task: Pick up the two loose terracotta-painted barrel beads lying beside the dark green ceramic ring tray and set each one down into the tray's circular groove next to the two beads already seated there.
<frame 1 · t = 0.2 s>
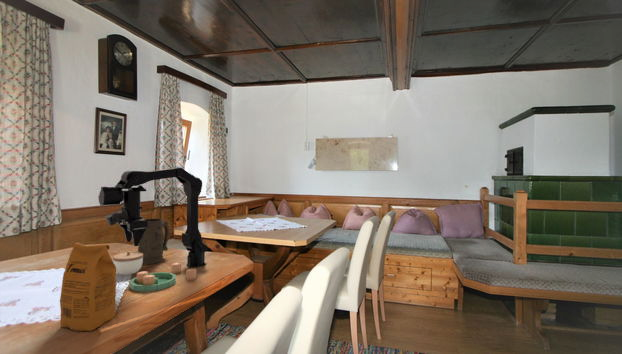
hand: (132, 244, 118), 14 cm above the table, fingers open, 9 cm apart
bead c: (148, 287, 109), point 1 cm above the table, touching ring tray
beer stein: (154, 260, 146), on the table
coffee package: (88, 323, 85), on the table
ring tray: (153, 285, 113), on the table
bead b: (191, 280, 119), on the table
bead a: (176, 273, 127), on the table
lidded jar: (128, 274, 126), on the table
bead d: (142, 283, 113), point 1 cm above the table, touching ring tray
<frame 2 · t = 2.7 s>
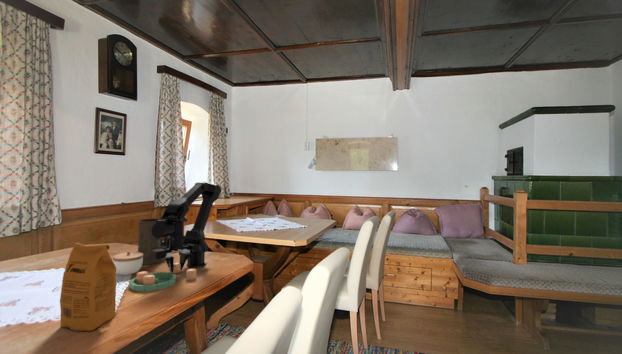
hand: (176, 271, 127), 1 cm above the table, fingers closed on bead a, 4 cm apart
bead a: (176, 273, 127), on the table, touching gripper
everything else where it was.
when the fingers open (3 cm above the table, at t = 5.7 s): bead a stays where it is, resting on ring tray.
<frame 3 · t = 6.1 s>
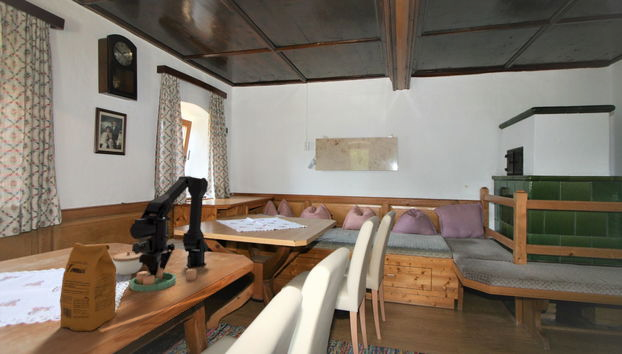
hand: (158, 274, 117), 3 cm above the table, fingers open, 8 cm apart
bead a: (158, 279, 117), point 1 cm above the table, touching ring tray
everything else where it was.
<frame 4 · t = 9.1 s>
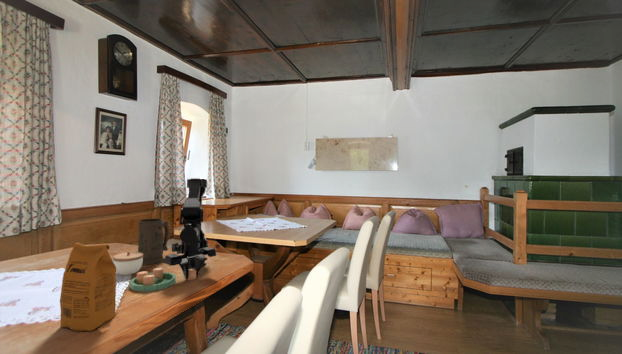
hand: (191, 277, 119), 1 cm above the table, fingers closed on bead b, 4 cm apart
bead b: (191, 280, 119), on the table, touching gripper
everything else where it was.
when the fingers open (3 cm above the table, at t = 12.1 s): bead b stays where it is, resting on ring tray.
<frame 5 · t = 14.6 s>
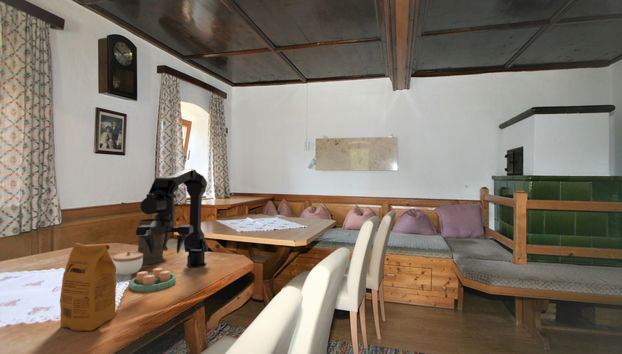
hand: (165, 253, 113), 12 cm above the table, fingers open, 9 cm apart
bead b: (165, 283, 113), point 1 cm above the table, touching ring tray
everything else where it was.
at the end: bead a 0.1 cm from the target spot on the ring tray, point 0.8 cm above the ring tray's base; bead b 0.1 cm from the target spot on the ring tray, point 0.8 cm above the ring tray's base; bead b tilted 0° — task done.
